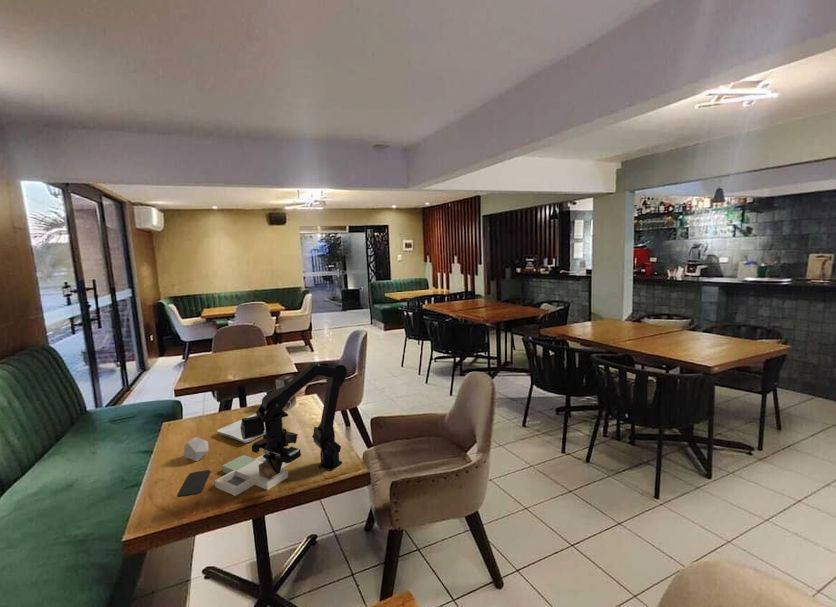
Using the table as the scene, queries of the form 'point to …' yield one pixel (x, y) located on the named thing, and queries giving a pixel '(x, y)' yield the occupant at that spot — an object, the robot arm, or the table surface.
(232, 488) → the box
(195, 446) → the die
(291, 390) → the robot arm
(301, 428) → the table surface
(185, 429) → the table surface
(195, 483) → the phone
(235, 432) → the salad plate
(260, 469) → the walnut block
